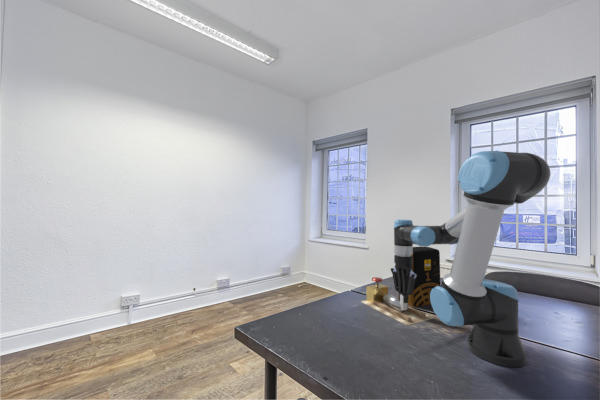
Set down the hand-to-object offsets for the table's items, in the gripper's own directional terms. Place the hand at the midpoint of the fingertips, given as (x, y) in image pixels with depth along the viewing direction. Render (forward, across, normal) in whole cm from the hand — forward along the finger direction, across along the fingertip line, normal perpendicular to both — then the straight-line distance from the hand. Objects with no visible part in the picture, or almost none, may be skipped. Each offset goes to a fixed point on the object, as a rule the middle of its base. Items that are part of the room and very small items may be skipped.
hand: (403, 309), depth 110 cm
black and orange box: (+4, +7, -19) cm, 20 cm away
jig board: (+3, +5, 0) cm, 6 cm away
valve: (+2, +18, 0) cm, 18 cm away
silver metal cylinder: (+1, +6, 0) cm, 6 cm away
